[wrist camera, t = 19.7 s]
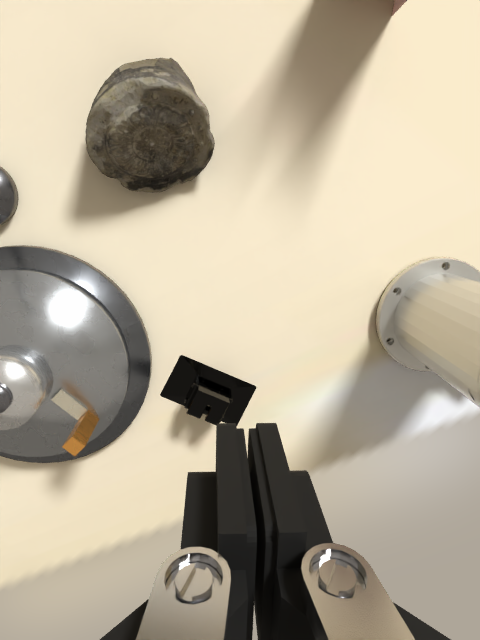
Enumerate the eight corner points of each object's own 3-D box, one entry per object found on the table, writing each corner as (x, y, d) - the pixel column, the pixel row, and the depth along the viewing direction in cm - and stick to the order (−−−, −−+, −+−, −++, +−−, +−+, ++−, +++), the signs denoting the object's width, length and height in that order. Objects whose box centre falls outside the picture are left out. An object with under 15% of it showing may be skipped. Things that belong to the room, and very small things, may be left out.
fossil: (149, 221, 40) (85, 177, 30) (104, 154, 42) (31, 92, 32) (238, 148, 38) (201, 77, 28) (186, 82, 40) (135, -6, 31)
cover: (10, 330, 40) (-17, 347, 35) (67, 377, 41) (49, 399, 37) (-35, 378, 41) (-66, 401, 36) (23, 421, 42) (0, 448, 38)
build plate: (145, 393, 46) (137, 414, 42) (171, 338, 44) (167, 353, 40) (243, 434, 48) (246, 457, 44) (272, 382, 47) (278, 401, 42)
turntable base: (192, 321, 43) (191, 324, 42) (90, 489, 48) (88, 495, 47) (-30, 197, 39) (-36, 197, 38) (-117, 397, 44) (-125, 401, 43)
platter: (11, 223, 38) (-28, 228, 32) (170, 361, 43) (163, 388, 37) (-112, 366, 41) (-170, 396, 35) (49, 480, 46) (23, 524, 40)
